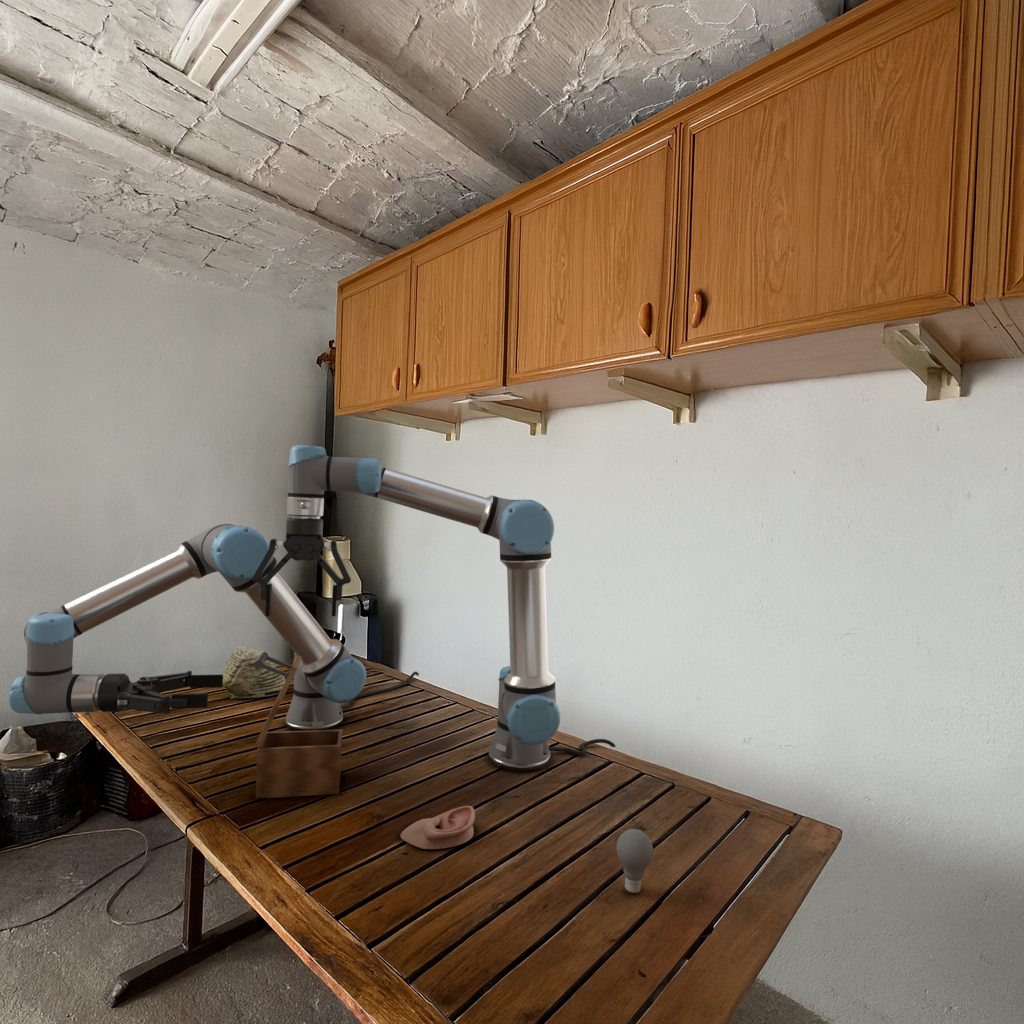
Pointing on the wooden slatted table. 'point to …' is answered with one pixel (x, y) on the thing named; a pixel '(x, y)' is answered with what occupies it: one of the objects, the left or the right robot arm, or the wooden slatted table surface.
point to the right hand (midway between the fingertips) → (301, 615)
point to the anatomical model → (442, 829)
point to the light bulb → (634, 857)
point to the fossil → (250, 675)
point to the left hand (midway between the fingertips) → (215, 690)
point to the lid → (260, 664)
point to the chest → (299, 763)
